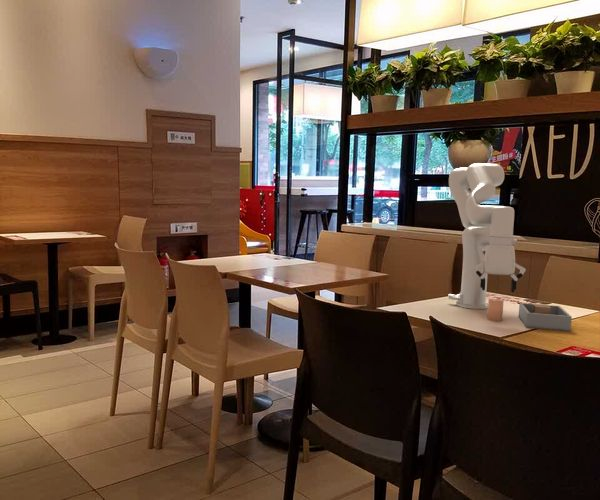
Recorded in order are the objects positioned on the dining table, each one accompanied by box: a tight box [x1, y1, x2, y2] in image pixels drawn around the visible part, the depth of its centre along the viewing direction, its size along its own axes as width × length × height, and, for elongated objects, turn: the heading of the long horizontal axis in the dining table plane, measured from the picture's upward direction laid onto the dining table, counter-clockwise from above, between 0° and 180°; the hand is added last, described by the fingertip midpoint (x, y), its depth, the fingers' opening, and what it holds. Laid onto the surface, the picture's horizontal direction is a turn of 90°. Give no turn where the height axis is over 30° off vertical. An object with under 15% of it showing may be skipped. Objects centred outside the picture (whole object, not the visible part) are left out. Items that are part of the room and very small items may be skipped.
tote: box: [518, 302, 572, 333], centre depth 194 cm, size 14×18×5 cm
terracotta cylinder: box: [486, 298, 505, 322], centre depth 198 cm, size 5×5×7 cm
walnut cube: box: [532, 303, 551, 314], centre depth 198 cm, size 5×5×5 cm
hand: (497, 290), depth 196 cm, fingers open, 9 cm apart
